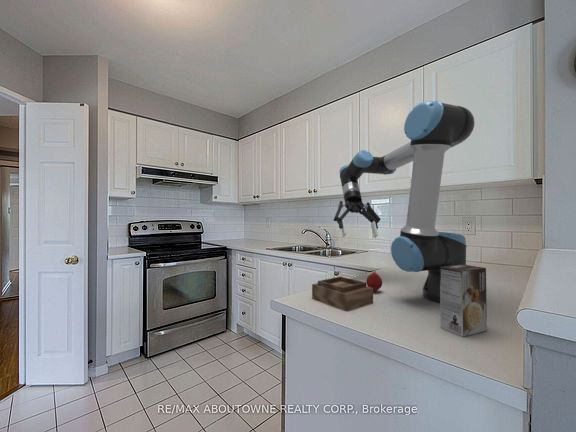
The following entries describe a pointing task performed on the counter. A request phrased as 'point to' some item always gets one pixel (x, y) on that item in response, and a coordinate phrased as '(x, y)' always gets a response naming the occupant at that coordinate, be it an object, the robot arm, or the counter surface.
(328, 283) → the stand
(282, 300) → the counter surface
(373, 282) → the onion
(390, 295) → the counter surface
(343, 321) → the counter surface
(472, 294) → the coffee box
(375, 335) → the counter surface
